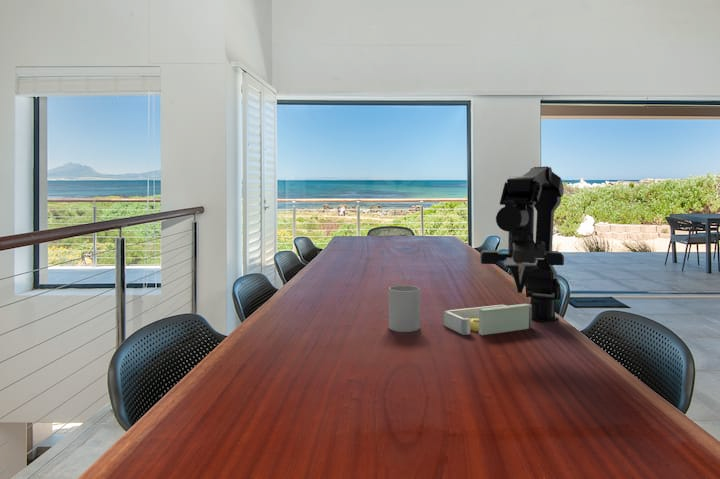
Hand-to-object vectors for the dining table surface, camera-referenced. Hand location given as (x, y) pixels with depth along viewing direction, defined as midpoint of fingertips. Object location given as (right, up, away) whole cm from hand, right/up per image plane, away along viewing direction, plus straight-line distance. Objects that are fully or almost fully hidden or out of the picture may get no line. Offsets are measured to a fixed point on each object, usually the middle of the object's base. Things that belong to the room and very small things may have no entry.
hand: (519, 292), depth 113 cm
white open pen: (-5, -11, +14) cm, 18 cm away
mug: (-26, -11, +15) cm, 32 cm away
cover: (-1, -11, +9) cm, 14 cm away
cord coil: (-7, -11, +12) cm, 18 cm away
